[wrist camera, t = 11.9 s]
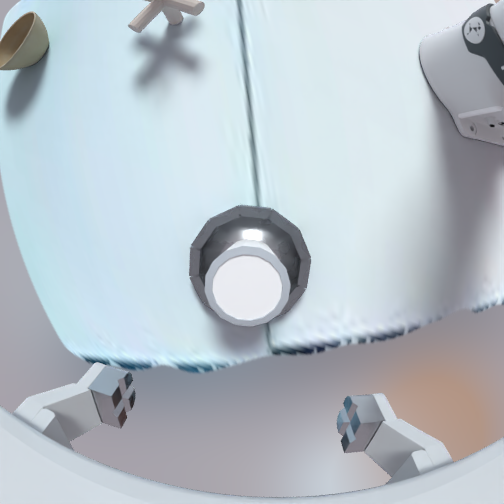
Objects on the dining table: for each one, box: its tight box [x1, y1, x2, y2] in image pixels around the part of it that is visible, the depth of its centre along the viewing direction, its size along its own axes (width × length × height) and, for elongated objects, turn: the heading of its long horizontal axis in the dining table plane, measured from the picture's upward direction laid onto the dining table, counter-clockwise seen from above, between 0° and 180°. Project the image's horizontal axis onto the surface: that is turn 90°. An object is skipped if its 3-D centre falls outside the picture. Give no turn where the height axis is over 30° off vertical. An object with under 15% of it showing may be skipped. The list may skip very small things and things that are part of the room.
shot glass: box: [205, 239, 291, 327], centre depth 25 cm, size 7×7×7 cm
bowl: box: [189, 205, 311, 318], centre depth 28 cm, size 12×12×2 cm
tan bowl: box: [0, 12, 49, 70], centre depth 19 cm, size 10×10×7 cm
